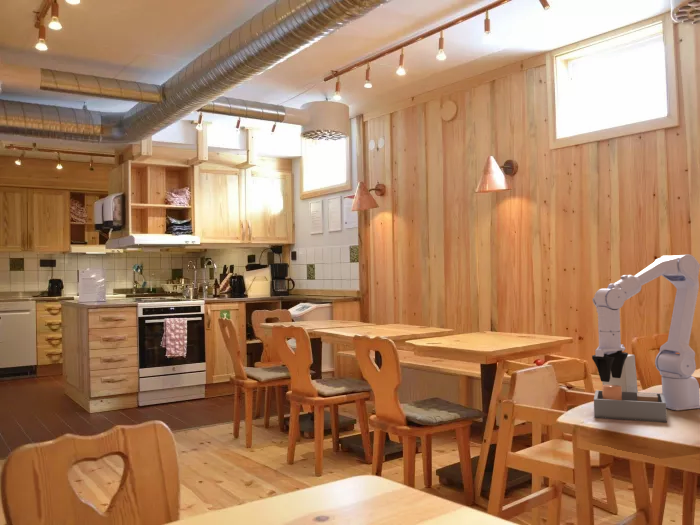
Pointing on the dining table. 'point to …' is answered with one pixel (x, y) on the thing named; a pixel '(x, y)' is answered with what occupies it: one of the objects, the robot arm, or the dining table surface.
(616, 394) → the terracotta cylinder
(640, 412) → the tote
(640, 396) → the walnut block
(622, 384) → the skincare box
